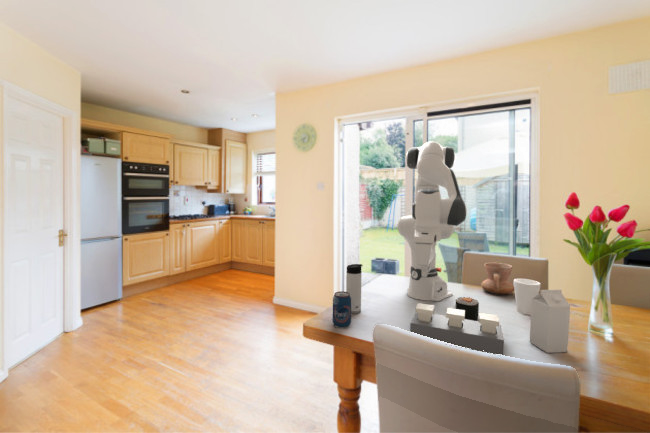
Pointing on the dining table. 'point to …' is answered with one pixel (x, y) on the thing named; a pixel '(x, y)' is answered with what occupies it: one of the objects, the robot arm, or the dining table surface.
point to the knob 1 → (424, 312)
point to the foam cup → (525, 294)
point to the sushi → (468, 307)
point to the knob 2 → (488, 322)
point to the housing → (460, 333)
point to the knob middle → (455, 317)
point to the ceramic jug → (498, 278)
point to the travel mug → (354, 286)
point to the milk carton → (550, 321)
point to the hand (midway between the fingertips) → (426, 273)
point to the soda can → (342, 309)
